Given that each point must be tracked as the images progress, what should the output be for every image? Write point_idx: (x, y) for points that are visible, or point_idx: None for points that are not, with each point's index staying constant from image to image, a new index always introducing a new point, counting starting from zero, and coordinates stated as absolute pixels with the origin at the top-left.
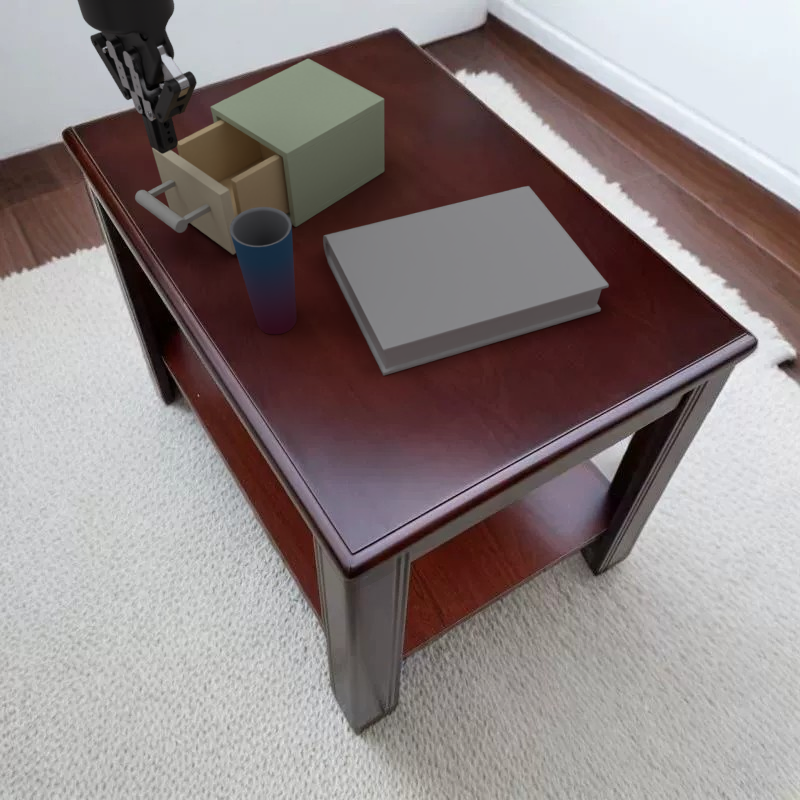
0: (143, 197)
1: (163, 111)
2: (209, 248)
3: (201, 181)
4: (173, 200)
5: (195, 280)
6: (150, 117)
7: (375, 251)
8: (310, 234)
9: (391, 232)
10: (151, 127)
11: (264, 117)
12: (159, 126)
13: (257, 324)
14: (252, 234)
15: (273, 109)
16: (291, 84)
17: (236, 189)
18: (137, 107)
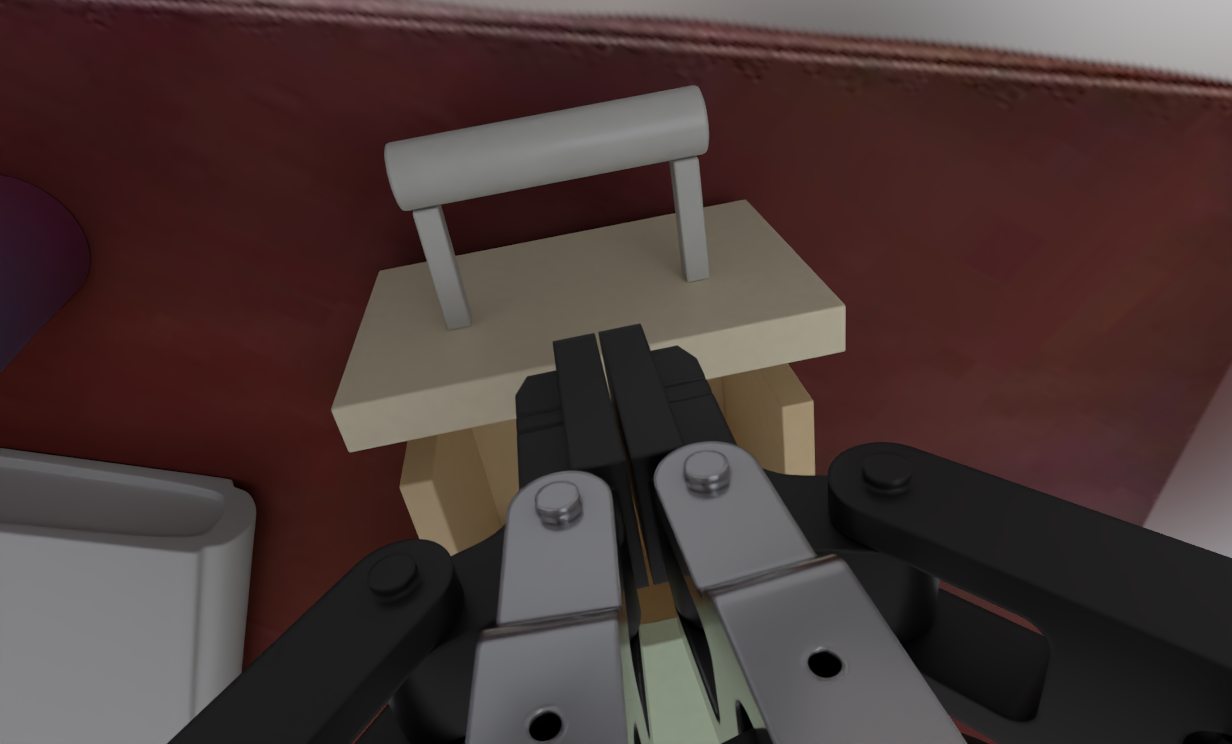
0: (652, 120)
1: (274, 673)
2: (493, 219)
3: (472, 384)
4: (711, 228)
5: (354, 98)
6: (542, 496)
7: (46, 631)
8: (385, 491)
9: (125, 690)
10: (580, 428)
11: (675, 707)
12: (523, 479)
13: (2, 176)
14: None
15: (698, 739)
16: None
17: (404, 463)
18: (690, 475)
